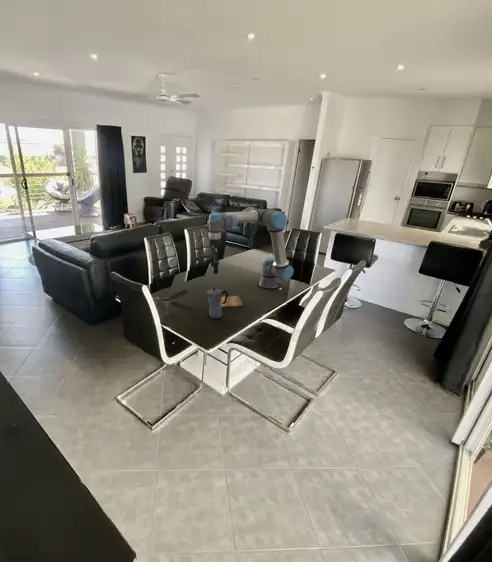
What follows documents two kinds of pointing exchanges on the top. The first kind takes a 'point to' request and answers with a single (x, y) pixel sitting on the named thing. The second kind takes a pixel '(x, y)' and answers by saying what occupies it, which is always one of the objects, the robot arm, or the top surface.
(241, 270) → the top surface
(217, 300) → the moka pot
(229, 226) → the robot arm
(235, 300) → the cork board
